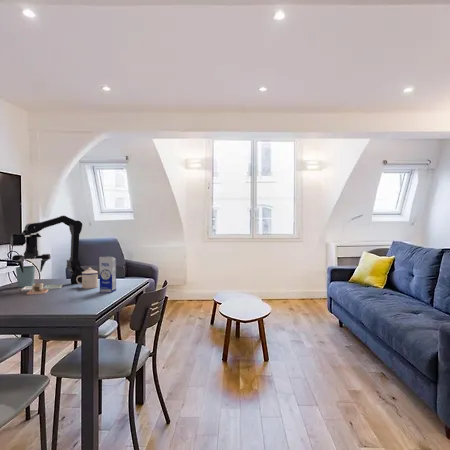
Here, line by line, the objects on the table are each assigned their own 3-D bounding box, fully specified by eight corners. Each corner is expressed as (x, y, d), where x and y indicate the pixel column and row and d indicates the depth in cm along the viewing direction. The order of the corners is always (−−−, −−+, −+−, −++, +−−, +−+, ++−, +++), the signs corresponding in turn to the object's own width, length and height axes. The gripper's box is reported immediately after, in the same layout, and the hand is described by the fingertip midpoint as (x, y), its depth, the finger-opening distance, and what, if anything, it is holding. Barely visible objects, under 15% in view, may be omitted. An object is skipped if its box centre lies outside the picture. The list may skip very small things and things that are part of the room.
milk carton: (99, 292, 189) (99, 256, 189) (104, 290, 196) (103, 255, 195) (112, 292, 189) (111, 256, 188) (116, 290, 195) (116, 255, 195)
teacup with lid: (98, 285, 210) (97, 266, 210) (98, 288, 202) (98, 268, 201) (76, 286, 206) (76, 267, 206) (76, 289, 197) (75, 269, 197)
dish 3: (62, 286, 207) (62, 284, 207) (60, 289, 199) (60, 286, 199) (46, 287, 205) (46, 285, 205) (43, 290, 196) (43, 287, 196)
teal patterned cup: (28, 288, 203) (28, 267, 203) (12, 288, 203) (11, 268, 203) (38, 284, 213) (38, 265, 213) (22, 285, 213) (22, 265, 213)
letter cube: (43, 291, 191) (43, 283, 190) (41, 292, 186) (41, 284, 186) (34, 291, 189) (34, 283, 189) (32, 293, 185) (32, 285, 185)
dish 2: (48, 291, 193) (48, 288, 193) (45, 294, 185) (45, 292, 185) (30, 292, 191) (30, 289, 191) (26, 295, 182) (26, 293, 182)
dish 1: (42, 287, 204) (42, 285, 204) (39, 290, 196) (39, 288, 195) (25, 288, 201) (25, 286, 201) (21, 291, 193) (21, 289, 193)
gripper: (9, 246, 188) (9, 275, 188) (47, 245, 193) (47, 273, 193) (14, 245, 198) (15, 272, 198) (50, 244, 204) (50, 270, 204)
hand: (32, 272), depth 198 cm, fingers open, 9 cm apart
